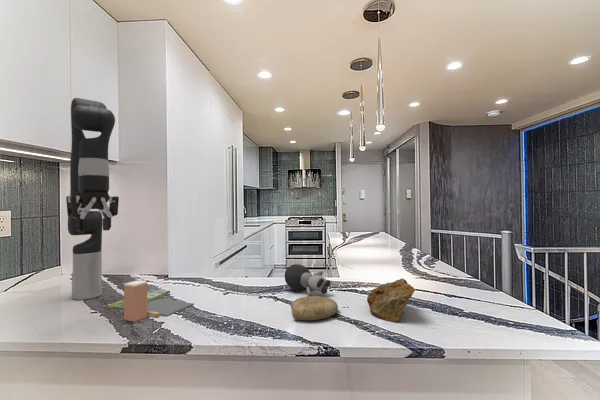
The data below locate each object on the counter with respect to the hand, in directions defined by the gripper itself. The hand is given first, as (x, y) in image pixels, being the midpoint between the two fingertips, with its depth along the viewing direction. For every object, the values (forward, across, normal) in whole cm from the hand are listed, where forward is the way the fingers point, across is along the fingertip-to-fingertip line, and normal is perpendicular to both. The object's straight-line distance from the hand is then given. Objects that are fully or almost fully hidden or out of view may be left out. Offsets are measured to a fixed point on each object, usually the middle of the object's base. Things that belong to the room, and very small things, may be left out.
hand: (94, 231), depth 89 cm
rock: (+28, -43, +78) cm, 93 cm away
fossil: (+28, -33, +56) cm, 71 cm away
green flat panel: (+29, -23, -9) cm, 38 cm away
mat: (+28, -19, +6) cm, 34 cm away
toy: (+28, -54, +46) cm, 76 cm away
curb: (+28, -12, +6) cm, 31 cm away
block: (+28, -9, +6) cm, 30 cm away
